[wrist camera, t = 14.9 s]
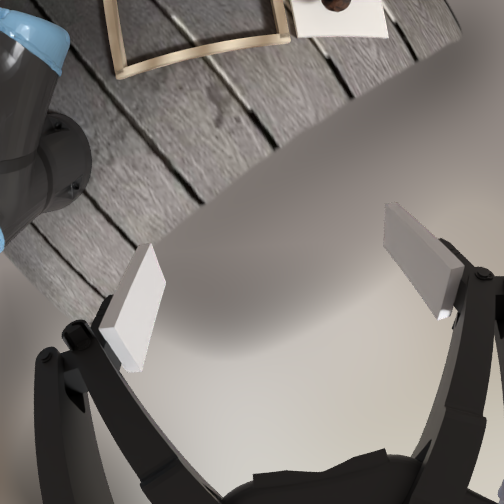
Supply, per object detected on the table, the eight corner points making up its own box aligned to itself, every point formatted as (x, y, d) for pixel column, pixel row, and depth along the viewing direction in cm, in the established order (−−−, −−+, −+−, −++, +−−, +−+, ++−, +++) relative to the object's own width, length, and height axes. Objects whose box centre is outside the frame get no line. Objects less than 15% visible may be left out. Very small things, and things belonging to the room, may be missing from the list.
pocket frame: (121, 79, 33) (116, 79, 31) (106, -16, 25) (101, -20, 23) (288, 43, 32) (290, 41, 30) (266, -54, 24) (268, -59, 22)
